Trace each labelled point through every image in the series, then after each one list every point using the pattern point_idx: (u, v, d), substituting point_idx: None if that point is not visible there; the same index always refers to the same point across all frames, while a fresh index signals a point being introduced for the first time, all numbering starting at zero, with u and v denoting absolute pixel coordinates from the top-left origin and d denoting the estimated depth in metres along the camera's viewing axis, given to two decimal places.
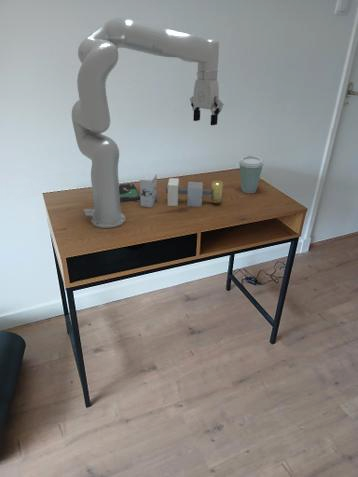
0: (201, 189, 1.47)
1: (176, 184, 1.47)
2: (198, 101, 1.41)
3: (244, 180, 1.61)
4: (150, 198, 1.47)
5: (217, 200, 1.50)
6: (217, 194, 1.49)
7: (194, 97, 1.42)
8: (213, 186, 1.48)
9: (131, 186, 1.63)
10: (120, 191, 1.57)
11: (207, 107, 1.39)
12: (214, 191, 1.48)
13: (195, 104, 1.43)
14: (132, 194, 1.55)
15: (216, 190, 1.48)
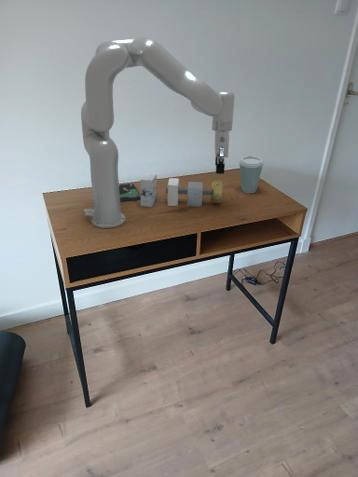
0: (201, 189, 1.47)
1: (176, 184, 1.47)
2: None
3: (244, 180, 1.61)
4: (150, 198, 1.47)
5: (217, 200, 1.50)
6: (217, 194, 1.49)
7: None
8: (213, 186, 1.48)
9: (131, 186, 1.63)
10: (120, 191, 1.57)
11: None
12: (214, 191, 1.48)
13: None
14: (132, 194, 1.55)
15: (216, 190, 1.48)
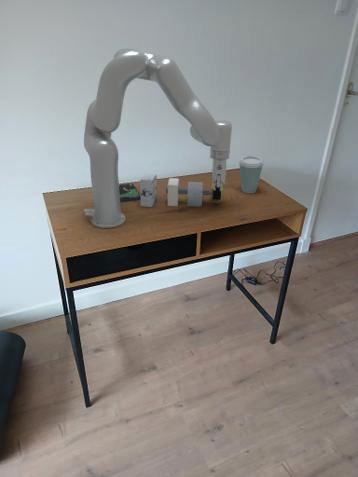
0: (201, 189, 1.47)
1: (176, 184, 1.47)
2: None
3: (244, 180, 1.61)
4: (150, 198, 1.47)
5: (217, 200, 1.50)
6: None
7: (225, 176, 1.43)
8: (213, 186, 1.48)
9: (131, 186, 1.64)
10: (120, 191, 1.57)
11: None
12: None
13: None
14: (132, 194, 1.55)
15: None
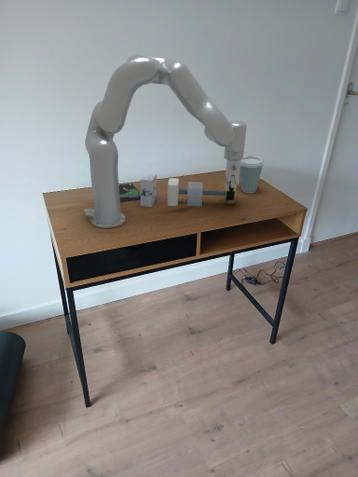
0: (201, 189, 1.47)
1: (176, 184, 1.47)
2: None
3: (244, 180, 1.61)
4: (150, 198, 1.47)
5: (230, 201, 1.50)
6: None
7: (239, 176, 1.43)
8: (226, 187, 1.48)
9: (130, 186, 1.64)
10: (120, 191, 1.57)
11: None
12: None
13: None
14: (133, 194, 1.55)
15: None
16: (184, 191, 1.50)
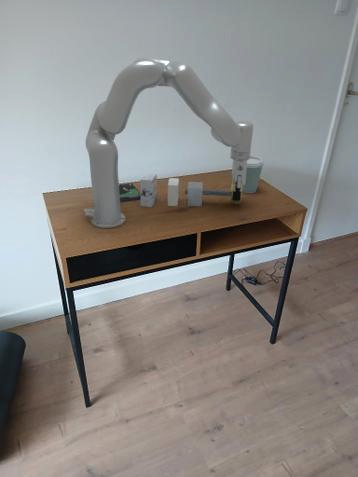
0: (201, 189, 1.47)
1: (176, 184, 1.47)
2: None
3: None
4: (150, 198, 1.47)
5: (236, 201, 1.50)
6: None
7: (245, 177, 1.43)
8: (233, 187, 1.47)
9: (130, 186, 1.64)
10: (120, 191, 1.57)
11: None
12: None
13: None
14: (133, 194, 1.55)
15: None
16: None
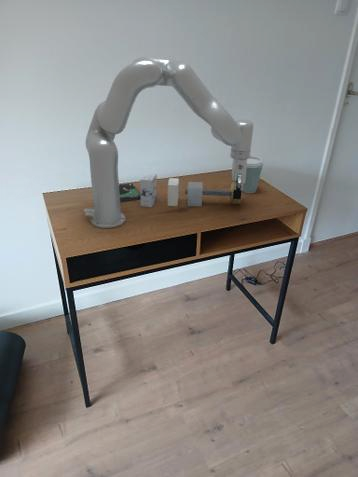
0: (201, 189, 1.47)
1: (176, 184, 1.47)
2: None
3: None
4: (150, 198, 1.47)
5: (236, 201, 1.50)
6: None
7: (245, 176, 1.42)
8: (233, 187, 1.47)
9: (130, 186, 1.64)
10: (120, 191, 1.57)
11: None
12: None
13: None
14: (133, 194, 1.55)
15: None
16: None
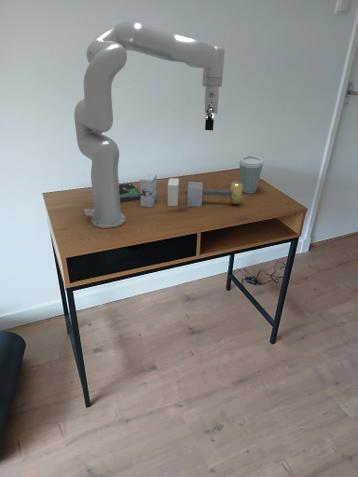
0: (201, 189, 1.47)
1: (176, 184, 1.47)
2: None
3: (244, 180, 1.61)
4: (150, 198, 1.47)
5: (236, 201, 1.50)
6: (237, 195, 1.48)
7: (217, 105, 1.40)
8: (233, 187, 1.47)
9: (130, 186, 1.64)
10: (120, 191, 1.57)
11: None
12: (234, 192, 1.48)
13: None
14: (133, 193, 1.55)
15: (236, 190, 1.47)
16: None
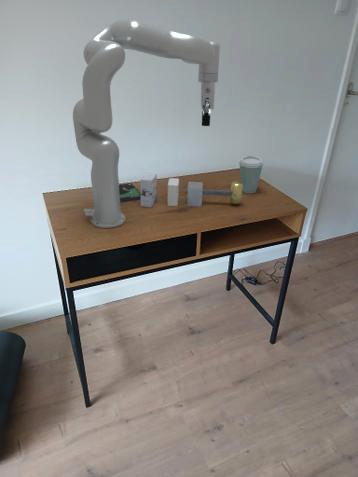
0: (201, 189, 1.47)
1: (176, 184, 1.47)
2: None
3: (244, 180, 1.61)
4: (150, 198, 1.47)
5: (236, 201, 1.50)
6: (237, 195, 1.48)
7: (213, 100, 1.41)
8: (233, 187, 1.47)
9: (130, 186, 1.64)
10: (120, 191, 1.57)
11: None
12: (234, 192, 1.48)
13: (213, 107, 1.43)
14: (133, 193, 1.56)
15: (236, 190, 1.47)
16: None
